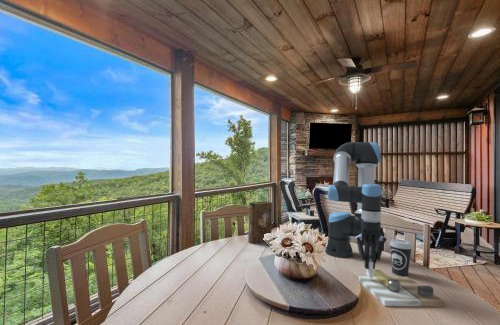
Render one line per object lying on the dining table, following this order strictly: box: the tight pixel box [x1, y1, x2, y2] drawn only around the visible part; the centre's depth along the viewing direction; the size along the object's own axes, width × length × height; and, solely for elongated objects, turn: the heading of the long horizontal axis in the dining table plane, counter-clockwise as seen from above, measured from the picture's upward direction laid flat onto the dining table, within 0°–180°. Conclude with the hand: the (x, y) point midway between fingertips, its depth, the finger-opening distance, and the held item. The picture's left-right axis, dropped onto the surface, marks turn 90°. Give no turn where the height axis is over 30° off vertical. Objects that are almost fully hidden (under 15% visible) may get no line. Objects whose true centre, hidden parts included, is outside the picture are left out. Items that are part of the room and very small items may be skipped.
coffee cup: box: [388, 238, 413, 277], centre depth 122 cm, size 10×10×15 cm
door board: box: [358, 275, 445, 307], centre depth 103 cm, size 20×22×5 cm
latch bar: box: [373, 269, 400, 292], centre depth 106 cm, size 14×4×3 cm, turn 2°
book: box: [247, 200, 273, 245], centre depth 167 cm, size 16×6×25 cm, turn 130°
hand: (369, 276), depth 109 cm, fingers closed
